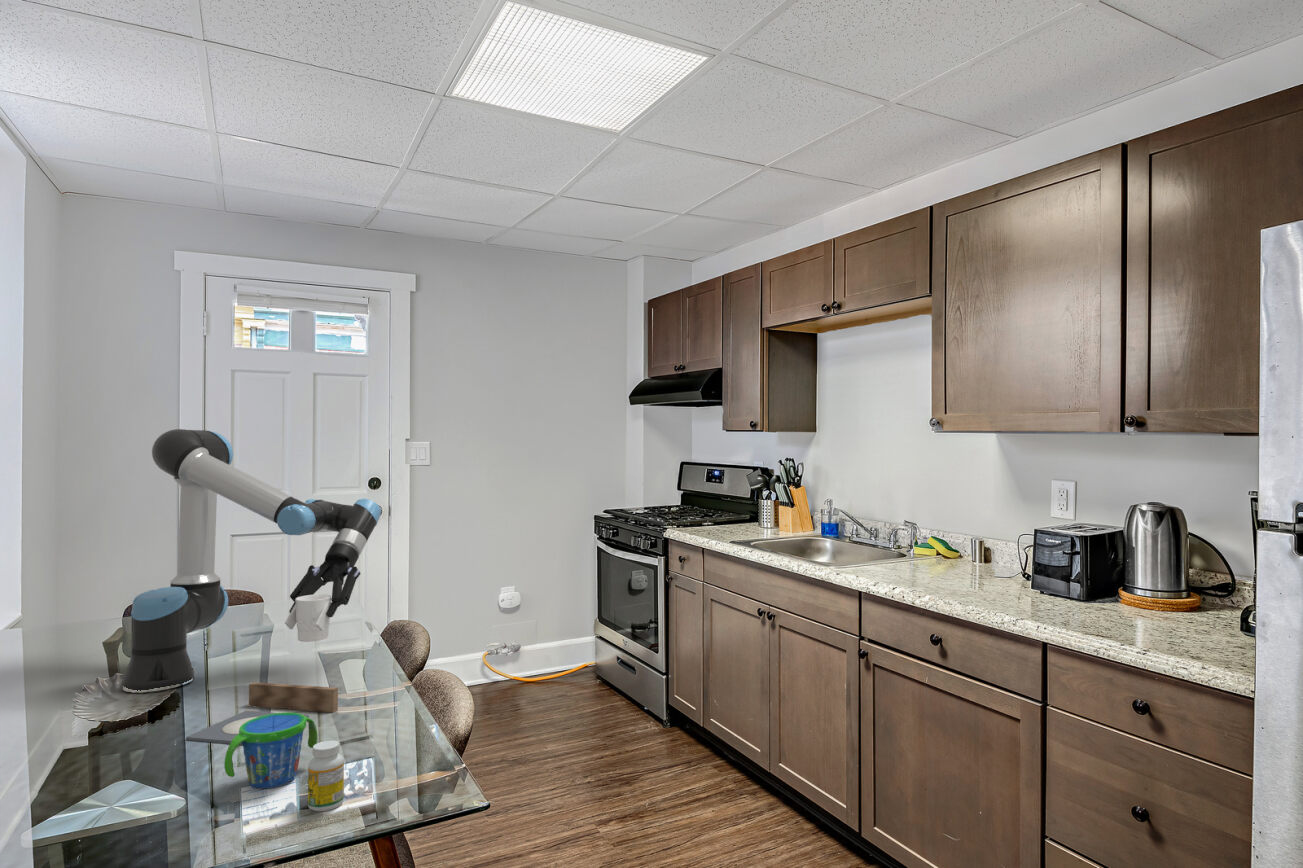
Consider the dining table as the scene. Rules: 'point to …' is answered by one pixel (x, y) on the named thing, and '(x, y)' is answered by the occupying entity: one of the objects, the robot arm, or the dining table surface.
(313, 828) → the dining table surface
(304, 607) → the white cup
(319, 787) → the supplement bottle
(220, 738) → the slate mat
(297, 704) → the low wall
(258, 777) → the snack cup
